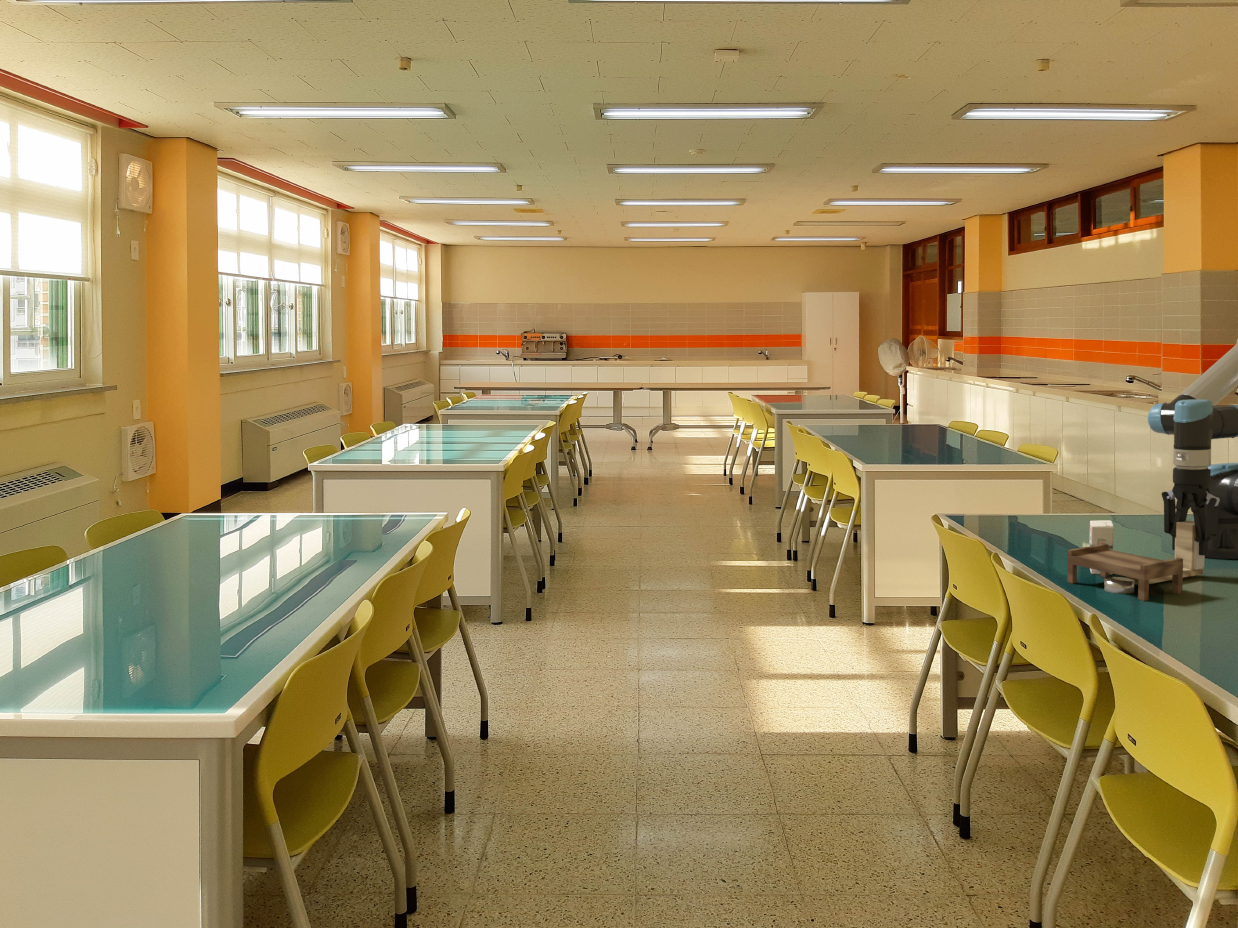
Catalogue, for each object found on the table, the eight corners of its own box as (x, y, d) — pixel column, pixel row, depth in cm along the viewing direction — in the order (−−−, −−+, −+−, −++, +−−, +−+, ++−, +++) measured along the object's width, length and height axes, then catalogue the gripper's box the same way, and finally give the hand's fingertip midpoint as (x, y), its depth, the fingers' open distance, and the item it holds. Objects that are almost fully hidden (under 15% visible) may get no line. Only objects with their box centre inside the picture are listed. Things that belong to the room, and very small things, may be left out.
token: (1117, 586, 225) (1117, 575, 225) (1140, 591, 220) (1140, 580, 220) (1098, 590, 223) (1098, 579, 223) (1121, 595, 218) (1121, 584, 217)
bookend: (1187, 570, 233) (1188, 520, 232) (1203, 573, 229) (1204, 522, 228) (1126, 582, 225) (1127, 530, 224) (1142, 585, 221) (1143, 532, 220)
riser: (1104, 575, 235) (1104, 543, 234) (1182, 593, 217) (1183, 558, 216) (1067, 582, 230) (1067, 549, 229) (1143, 600, 212) (1144, 565, 211)
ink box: (1088, 566, 245) (1089, 519, 243) (1110, 567, 243) (1111, 519, 242) (1090, 574, 237) (1091, 525, 235) (1113, 575, 235) (1114, 526, 234)
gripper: (1147, 465, 234) (1145, 562, 237) (1216, 472, 218) (1213, 575, 221) (1169, 462, 237) (1167, 558, 240) (1238, 469, 221) (1235, 571, 224)
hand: (1189, 566), depth 230 cm, fingers closed on bookend, 4 cm apart
